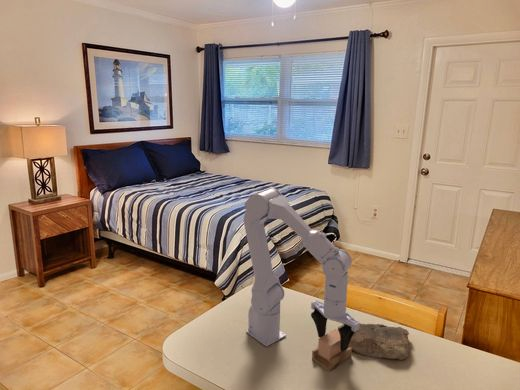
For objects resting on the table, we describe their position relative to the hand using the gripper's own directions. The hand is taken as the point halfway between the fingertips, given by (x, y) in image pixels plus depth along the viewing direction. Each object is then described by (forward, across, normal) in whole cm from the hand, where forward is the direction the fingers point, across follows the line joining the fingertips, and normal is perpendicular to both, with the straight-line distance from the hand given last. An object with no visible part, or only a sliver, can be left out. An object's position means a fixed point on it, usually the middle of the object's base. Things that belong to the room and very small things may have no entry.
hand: (332, 342), depth 102 cm
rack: (+5, 0, 0) cm, 5 cm away
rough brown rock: (+5, -3, -14) cm, 16 cm away
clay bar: (+3, 0, 0) cm, 3 cm away
